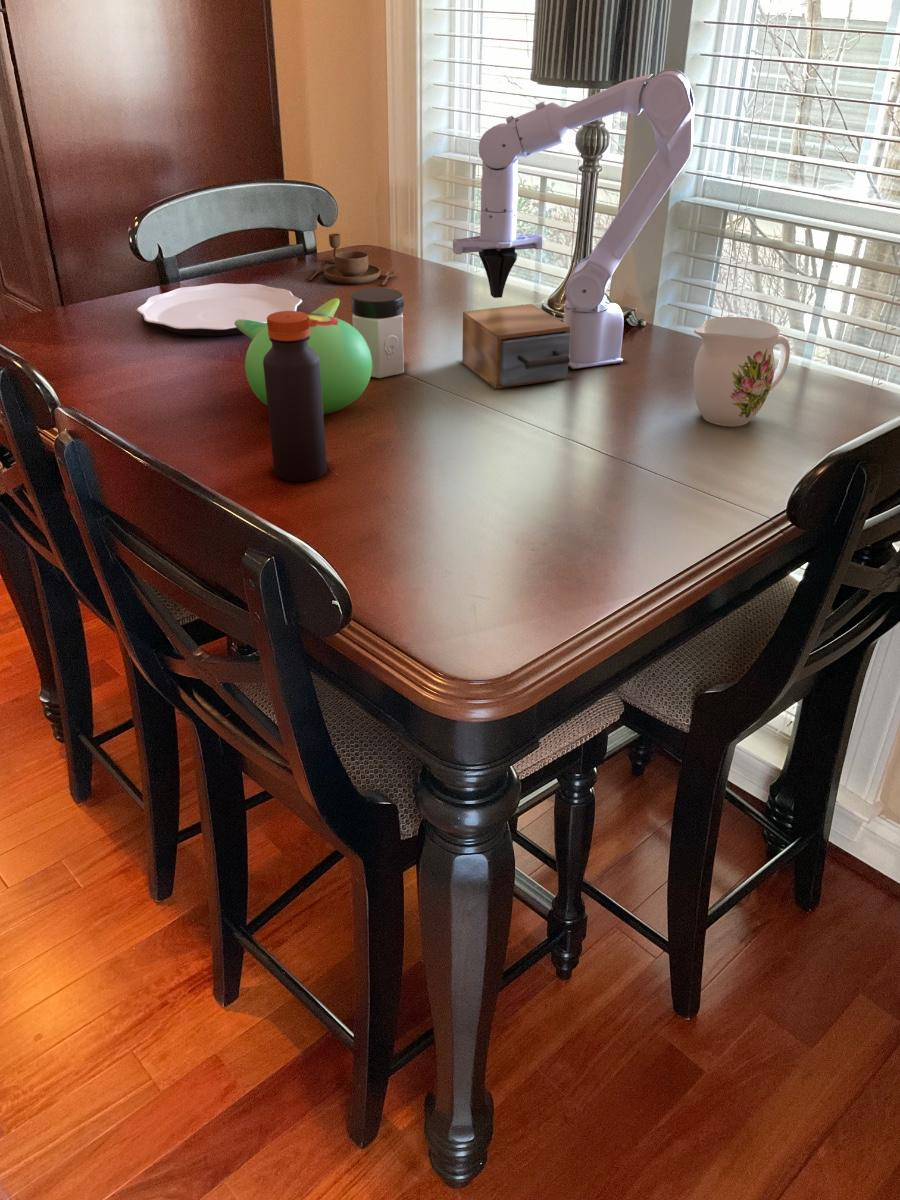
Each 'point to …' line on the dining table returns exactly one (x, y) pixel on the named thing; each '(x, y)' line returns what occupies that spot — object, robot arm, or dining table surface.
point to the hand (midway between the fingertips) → (496, 296)
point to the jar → (381, 328)
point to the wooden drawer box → (502, 336)
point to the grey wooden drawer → (534, 358)
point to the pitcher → (736, 368)
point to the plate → (215, 307)
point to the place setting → (350, 266)
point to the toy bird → (337, 350)
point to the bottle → (294, 399)
